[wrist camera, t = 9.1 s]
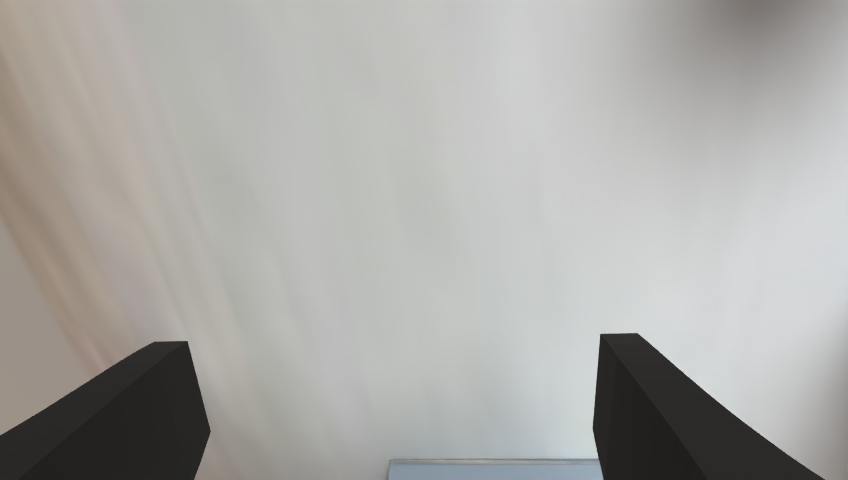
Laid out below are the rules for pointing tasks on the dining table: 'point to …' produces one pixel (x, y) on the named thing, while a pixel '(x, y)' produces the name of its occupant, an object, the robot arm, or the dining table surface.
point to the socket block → (496, 469)
